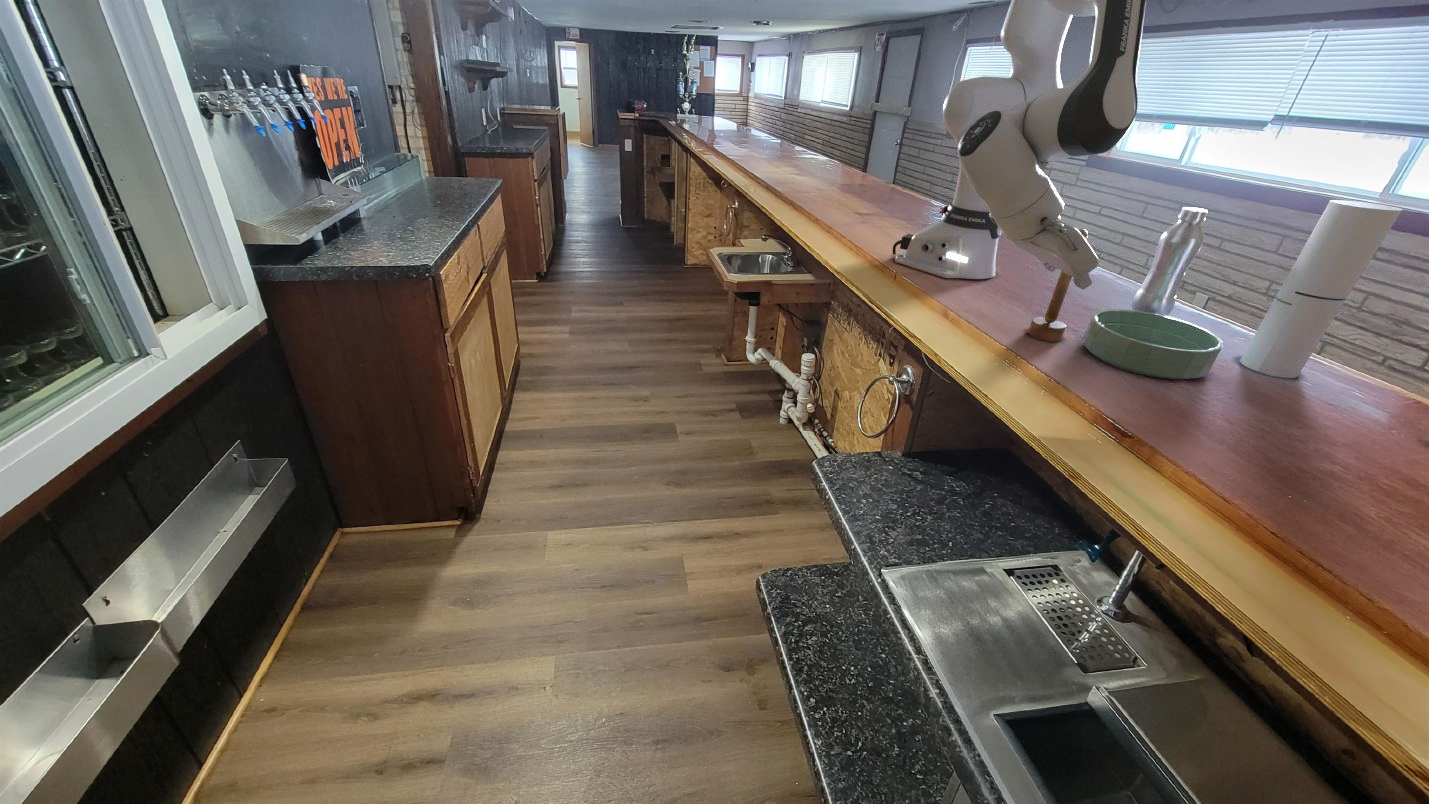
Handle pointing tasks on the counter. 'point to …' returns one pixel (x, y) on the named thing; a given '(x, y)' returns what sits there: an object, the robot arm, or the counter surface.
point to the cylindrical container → (1318, 285)
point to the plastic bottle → (1171, 263)
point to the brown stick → (1053, 310)
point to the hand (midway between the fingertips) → (1068, 276)
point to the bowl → (1151, 344)
